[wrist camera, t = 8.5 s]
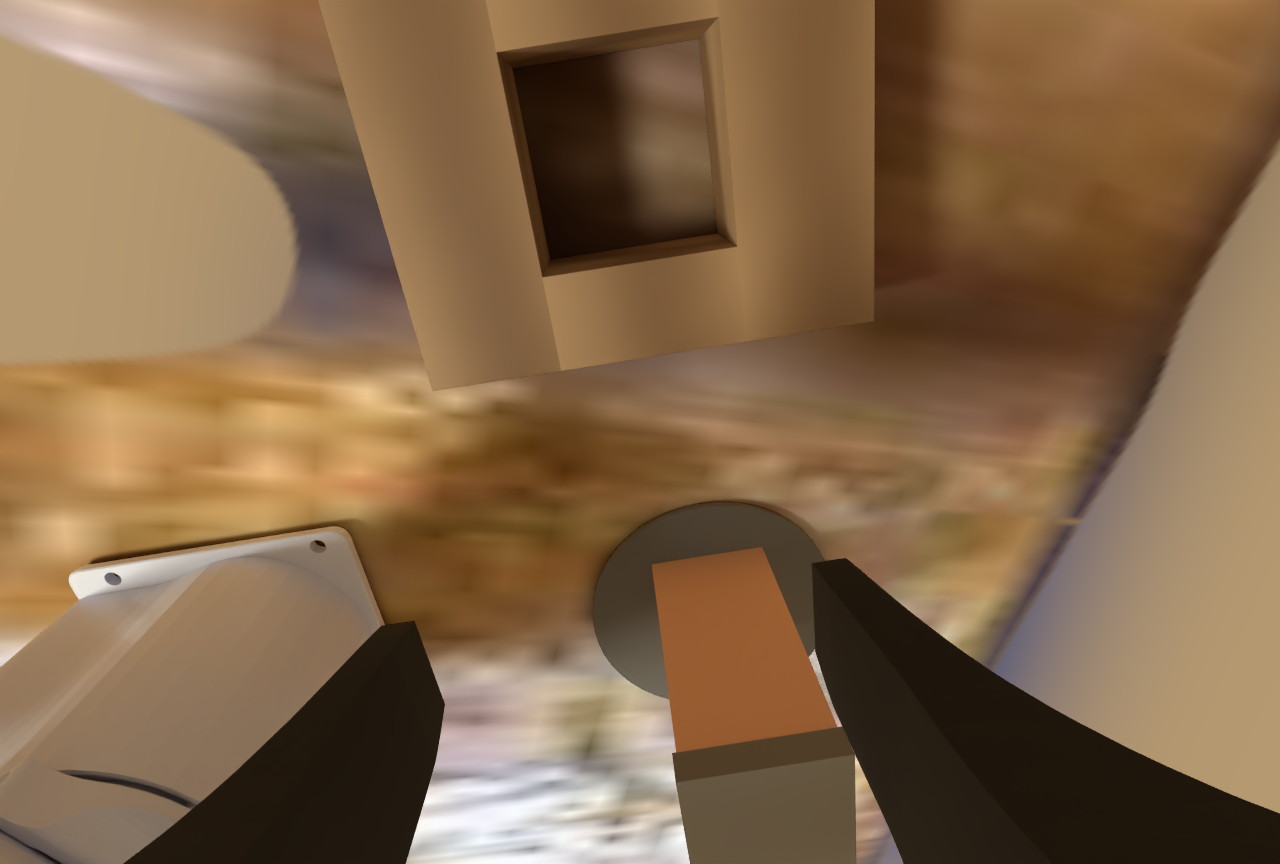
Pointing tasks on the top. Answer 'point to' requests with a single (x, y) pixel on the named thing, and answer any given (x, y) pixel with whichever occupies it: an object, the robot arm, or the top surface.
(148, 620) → the robot arm
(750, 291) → the tan square socket
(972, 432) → the top surface
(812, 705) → the plug
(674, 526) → the coaster
